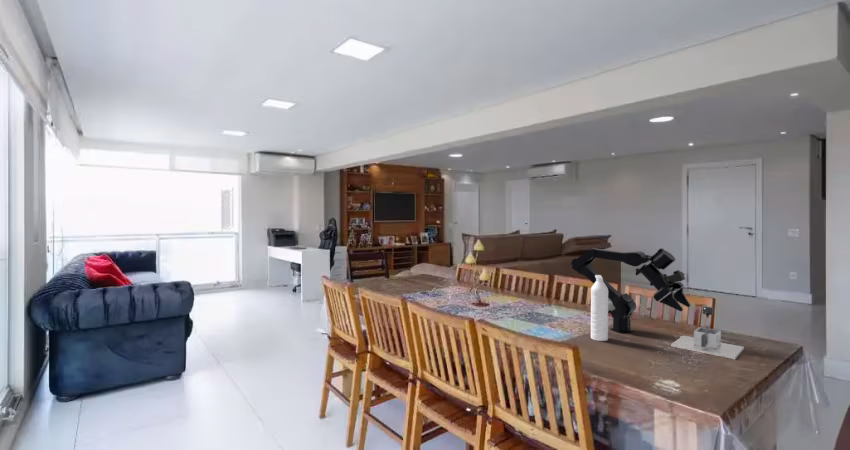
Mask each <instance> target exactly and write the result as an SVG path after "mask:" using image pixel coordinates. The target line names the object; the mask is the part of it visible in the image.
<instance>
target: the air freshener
mask: <svg viewBox="0 0 850 450" xmlns="http://www.w3.org/2000/svg"><path fill="white" fill-rule="evenodd" d="M614 309H616V308H615V307H614V306H613V303H612V301H611V300H610V299H609V298H608V312H609V311H611V312H612V311H613V310H614Z"/></svg>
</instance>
